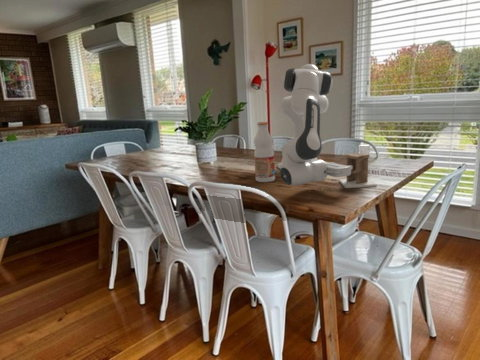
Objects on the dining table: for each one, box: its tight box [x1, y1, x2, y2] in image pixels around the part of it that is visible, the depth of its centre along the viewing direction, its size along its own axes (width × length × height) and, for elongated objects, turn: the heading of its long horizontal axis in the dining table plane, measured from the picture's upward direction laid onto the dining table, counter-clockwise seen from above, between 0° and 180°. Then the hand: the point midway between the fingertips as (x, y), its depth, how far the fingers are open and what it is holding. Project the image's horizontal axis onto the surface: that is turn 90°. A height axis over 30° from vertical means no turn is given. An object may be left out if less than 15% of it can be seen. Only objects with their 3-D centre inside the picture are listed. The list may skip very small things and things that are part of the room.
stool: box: [344, 152, 370, 184], centre depth 158 cm, size 7×7×12 cm
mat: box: [338, 177, 378, 189], centre depth 160 cm, size 13×12×1 cm
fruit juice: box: [253, 121, 276, 183], centre depth 174 cm, size 9×9×28 cm
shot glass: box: [358, 143, 372, 154], centre depth 221 cm, size 7×7×7 cm
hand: (343, 165), depth 154 cm, fingers open, 8 cm apart
